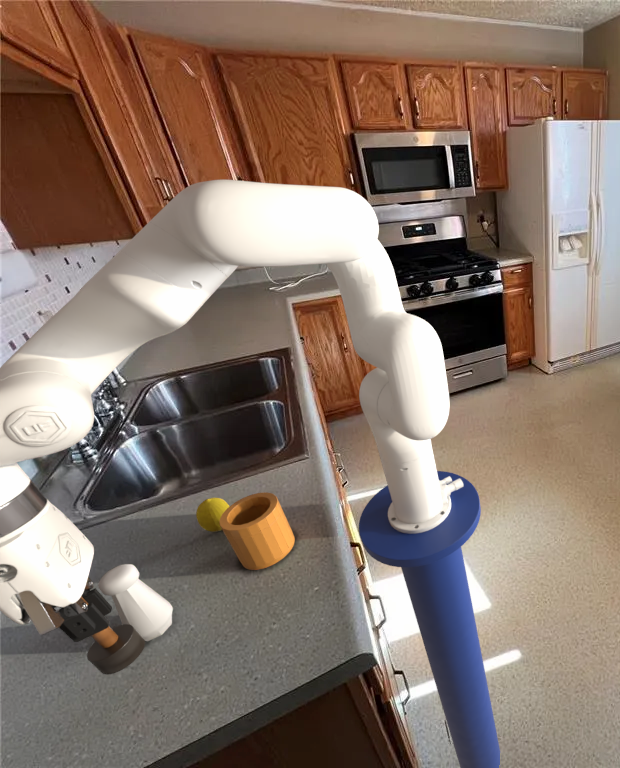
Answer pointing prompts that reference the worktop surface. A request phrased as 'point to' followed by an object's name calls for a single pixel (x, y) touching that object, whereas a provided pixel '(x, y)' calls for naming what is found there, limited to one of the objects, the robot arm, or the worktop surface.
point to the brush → (115, 648)
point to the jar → (257, 530)
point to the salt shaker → (137, 601)
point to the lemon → (211, 513)
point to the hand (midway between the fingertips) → (94, 624)
